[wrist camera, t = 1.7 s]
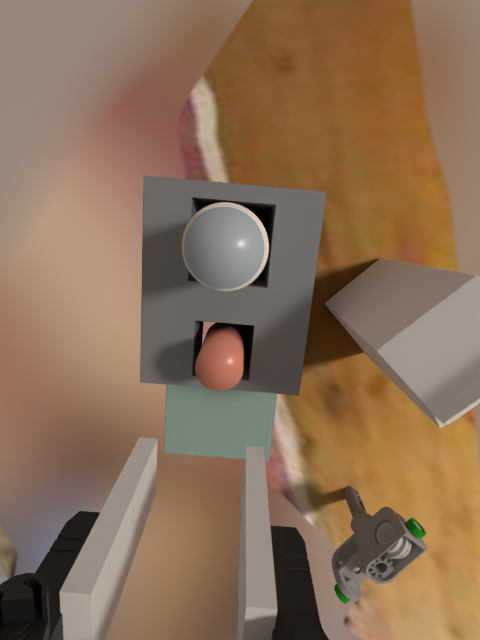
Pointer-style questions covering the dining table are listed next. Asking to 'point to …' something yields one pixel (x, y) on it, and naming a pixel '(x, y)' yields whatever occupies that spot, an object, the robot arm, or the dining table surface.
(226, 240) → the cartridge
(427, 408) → the milk carton
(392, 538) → the mechanical component
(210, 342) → the pink egg shape
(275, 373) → the housing
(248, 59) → the dining table surface
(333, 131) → the dining table surface
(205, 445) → the mat
